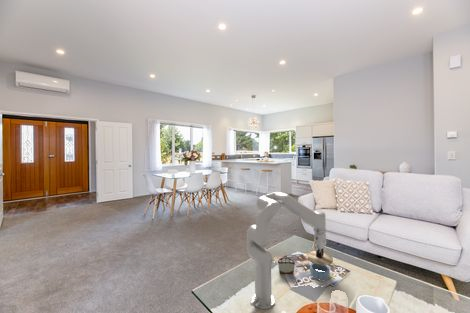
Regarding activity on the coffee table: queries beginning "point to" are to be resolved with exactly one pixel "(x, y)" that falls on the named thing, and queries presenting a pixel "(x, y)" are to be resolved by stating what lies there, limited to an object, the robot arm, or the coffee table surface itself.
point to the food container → (286, 265)
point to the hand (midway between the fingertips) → (319, 256)
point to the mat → (309, 291)
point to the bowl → (320, 275)
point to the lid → (324, 259)
